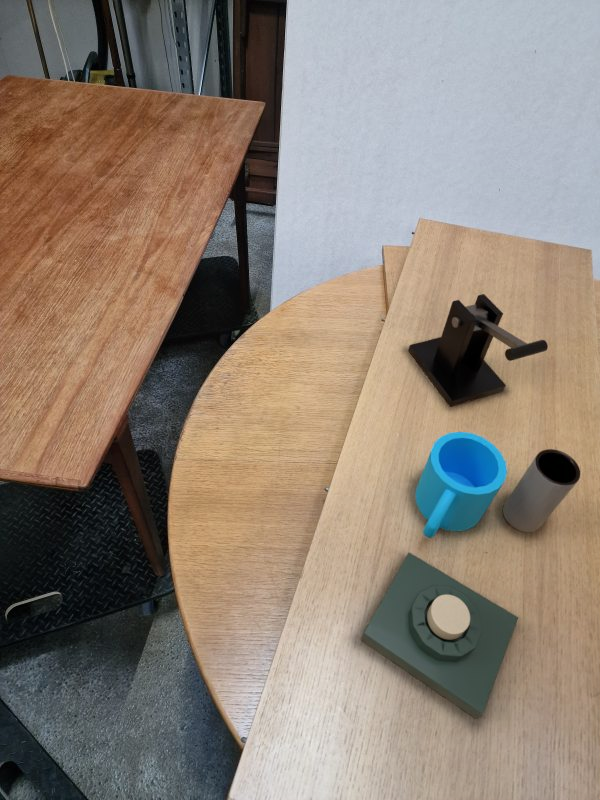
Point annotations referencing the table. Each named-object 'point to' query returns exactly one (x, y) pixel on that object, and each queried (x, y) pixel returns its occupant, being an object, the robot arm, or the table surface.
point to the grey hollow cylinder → (541, 490)
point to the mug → (459, 482)
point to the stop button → (448, 617)
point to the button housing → (432, 655)
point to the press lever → (506, 336)
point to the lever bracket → (460, 355)
